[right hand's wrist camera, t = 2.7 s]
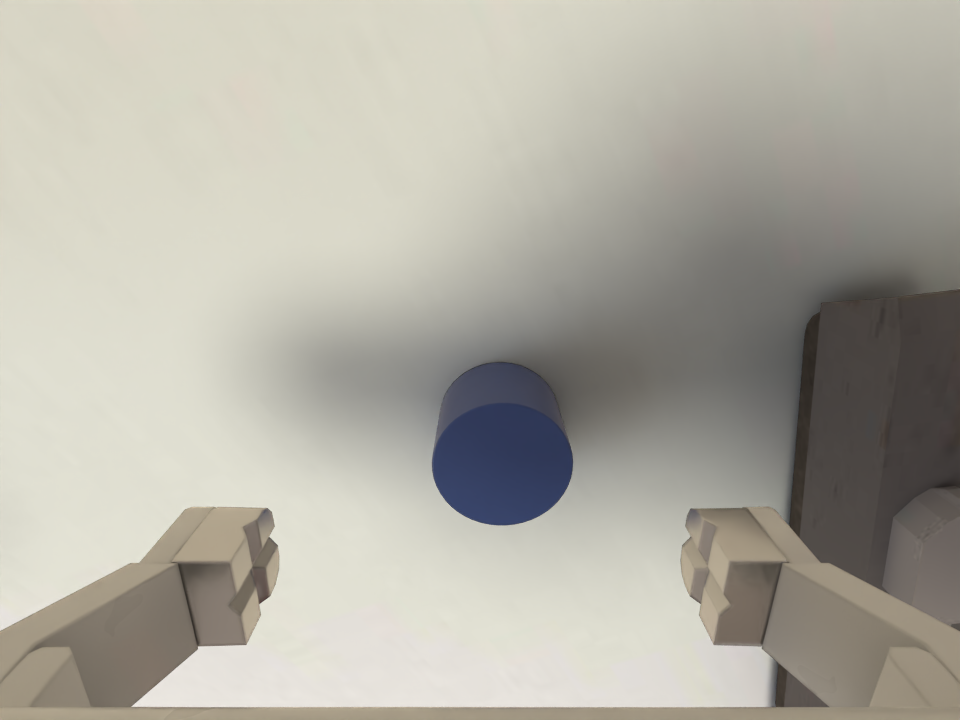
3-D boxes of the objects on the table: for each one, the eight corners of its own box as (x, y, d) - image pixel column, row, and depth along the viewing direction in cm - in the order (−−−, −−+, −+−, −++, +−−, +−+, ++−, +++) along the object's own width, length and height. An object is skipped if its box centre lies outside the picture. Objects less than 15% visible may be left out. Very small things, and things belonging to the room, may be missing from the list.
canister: (516, 338, 22) (524, 376, 18) (580, 431, 23) (599, 484, 19) (416, 402, 23) (403, 450, 19) (483, 487, 24) (483, 547, 20)
